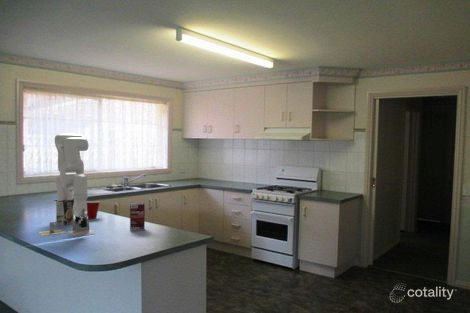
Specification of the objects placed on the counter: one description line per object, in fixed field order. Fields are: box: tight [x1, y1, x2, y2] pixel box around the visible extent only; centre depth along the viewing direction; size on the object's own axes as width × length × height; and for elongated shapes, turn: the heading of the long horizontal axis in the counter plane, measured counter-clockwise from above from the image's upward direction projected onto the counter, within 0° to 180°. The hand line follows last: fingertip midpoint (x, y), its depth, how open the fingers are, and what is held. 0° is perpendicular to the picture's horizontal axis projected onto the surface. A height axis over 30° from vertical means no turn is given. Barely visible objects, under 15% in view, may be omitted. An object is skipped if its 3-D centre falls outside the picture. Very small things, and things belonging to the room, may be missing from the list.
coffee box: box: [55, 199, 75, 226], centre depth 237 cm, size 9×6×16 cm
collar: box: [72, 221, 90, 232], centre depth 215 cm, size 7×7×4 cm
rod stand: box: [38, 221, 67, 237], centre depth 214 cm, size 12×12×7 cm
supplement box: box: [129, 202, 146, 232], centre depth 224 cm, size 9×5×16 cm, turn 105°
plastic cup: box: [86, 200, 101, 220], centre depth 261 cm, size 11×11×12 cm
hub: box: [66, 220, 96, 238], centre depth 215 cm, size 12×12×8 cm
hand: (81, 225), depth 215 cm, fingers open, 9 cm apart
